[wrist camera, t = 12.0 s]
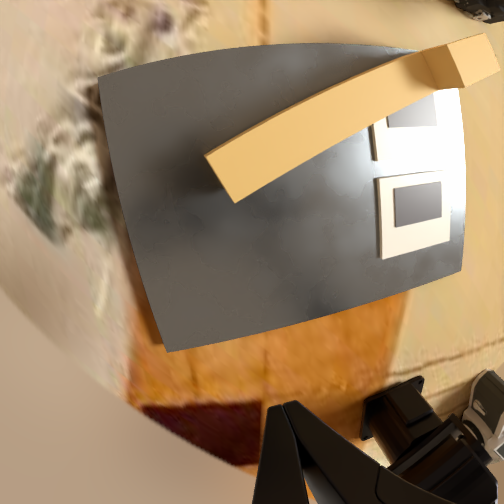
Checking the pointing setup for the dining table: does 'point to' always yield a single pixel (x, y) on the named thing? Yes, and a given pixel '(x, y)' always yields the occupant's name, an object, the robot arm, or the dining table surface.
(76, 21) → the dining table surface
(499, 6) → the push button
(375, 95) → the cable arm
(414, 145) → the label tile
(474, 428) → the camera
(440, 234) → the label tile
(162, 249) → the chassis plate
